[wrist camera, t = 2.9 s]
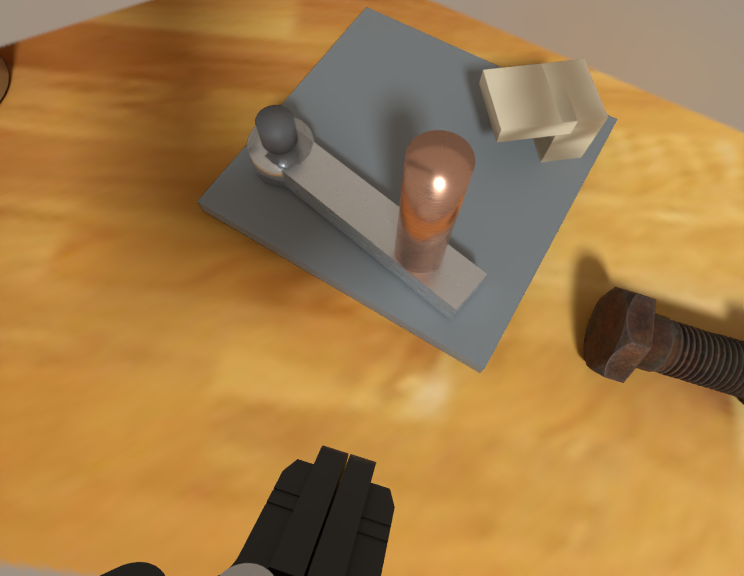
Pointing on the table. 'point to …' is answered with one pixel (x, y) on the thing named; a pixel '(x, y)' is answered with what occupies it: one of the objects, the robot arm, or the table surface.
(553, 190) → the board
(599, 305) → the bolt
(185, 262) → the table surface
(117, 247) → the table surface
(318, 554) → the robot arm
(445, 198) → the link
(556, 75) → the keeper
